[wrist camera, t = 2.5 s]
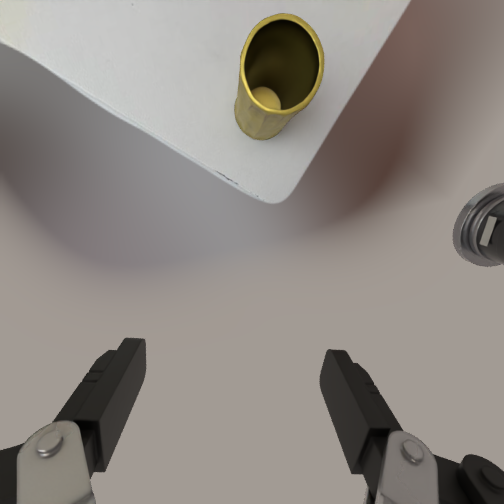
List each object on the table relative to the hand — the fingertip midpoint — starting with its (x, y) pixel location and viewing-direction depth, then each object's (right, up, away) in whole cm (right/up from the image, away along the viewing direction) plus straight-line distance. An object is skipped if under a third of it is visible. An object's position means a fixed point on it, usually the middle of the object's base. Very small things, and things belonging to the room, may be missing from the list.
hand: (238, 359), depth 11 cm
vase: (+2, +21, +18) cm, 27 cm away
